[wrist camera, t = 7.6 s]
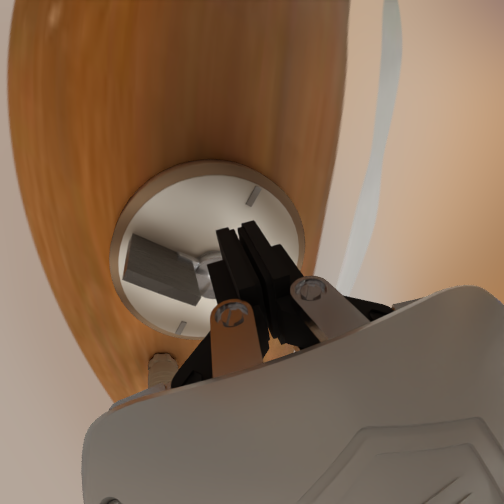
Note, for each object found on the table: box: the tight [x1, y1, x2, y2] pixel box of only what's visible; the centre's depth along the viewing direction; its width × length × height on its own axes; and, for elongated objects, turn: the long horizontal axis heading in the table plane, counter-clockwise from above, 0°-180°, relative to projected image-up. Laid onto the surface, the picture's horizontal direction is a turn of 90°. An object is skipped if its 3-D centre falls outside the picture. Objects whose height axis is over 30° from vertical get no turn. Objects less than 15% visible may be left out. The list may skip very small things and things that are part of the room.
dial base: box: [109, 159, 305, 340], centre depth 24 cm, size 17×17×3 cm
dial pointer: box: [122, 233, 222, 307], centre depth 21 cm, size 14×4×5 cm, turn 56°
